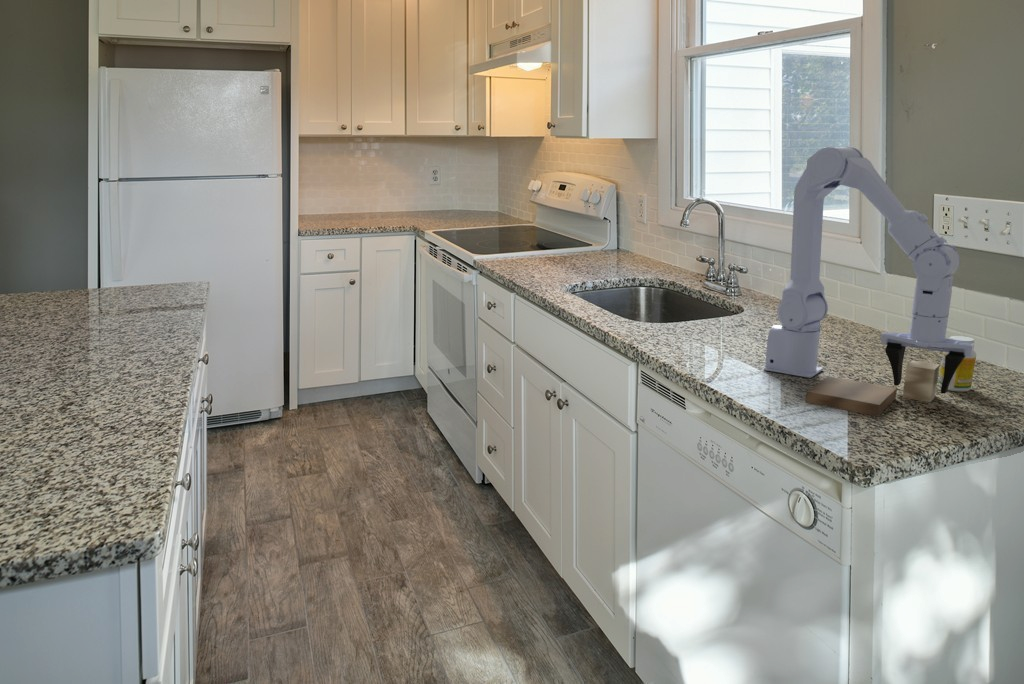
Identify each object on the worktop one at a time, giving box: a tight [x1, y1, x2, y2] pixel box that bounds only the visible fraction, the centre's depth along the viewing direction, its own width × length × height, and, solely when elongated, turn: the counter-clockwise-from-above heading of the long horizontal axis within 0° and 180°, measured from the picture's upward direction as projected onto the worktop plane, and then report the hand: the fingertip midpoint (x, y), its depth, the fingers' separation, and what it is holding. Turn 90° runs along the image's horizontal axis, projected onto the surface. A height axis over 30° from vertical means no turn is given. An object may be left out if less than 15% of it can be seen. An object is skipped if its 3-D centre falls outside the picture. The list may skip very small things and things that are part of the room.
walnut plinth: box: [805, 376, 898, 417], centre depth 138 cm, size 12×12×2 cm
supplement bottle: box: [938, 335, 977, 393], centre depth 145 cm, size 5×5×10 cm
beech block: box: [902, 360, 941, 403], centre depth 140 cm, size 4×4×6 cm
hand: (920, 388), depth 140 cm, fingers open, 7 cm apart
